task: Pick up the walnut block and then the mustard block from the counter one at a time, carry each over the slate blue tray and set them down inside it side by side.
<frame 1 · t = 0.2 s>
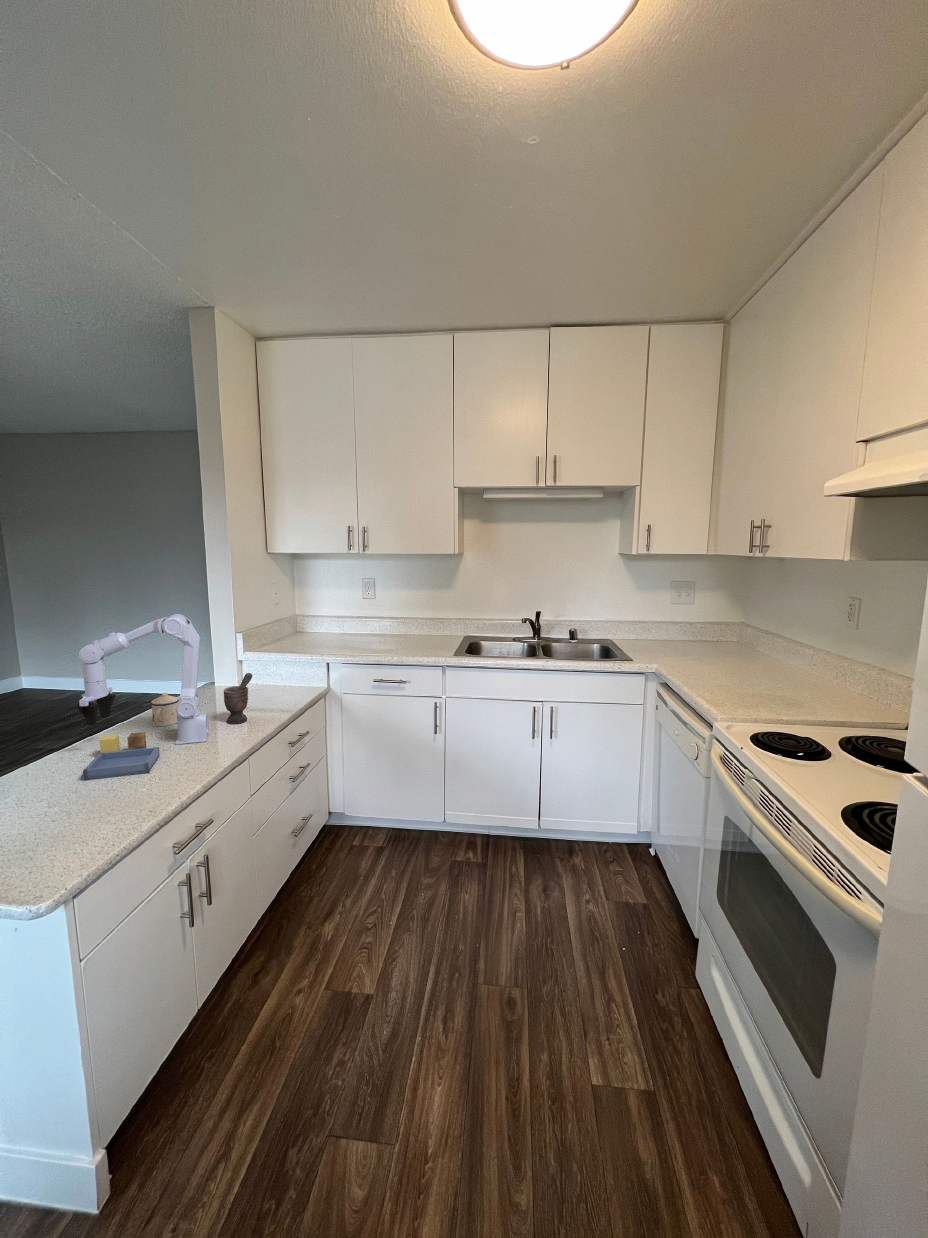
hand: (98, 720, 158), 10 cm above the worktop, fingers open, 7 cm apart
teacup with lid: (165, 724, 184), on the worktop
walnut block: (137, 752, 158), on the worktop
mortar and pestle: (241, 722, 188), on the worktop
mustard block: (110, 755, 156), on the worktop
slate blue tray: (124, 767, 147), on the worktop
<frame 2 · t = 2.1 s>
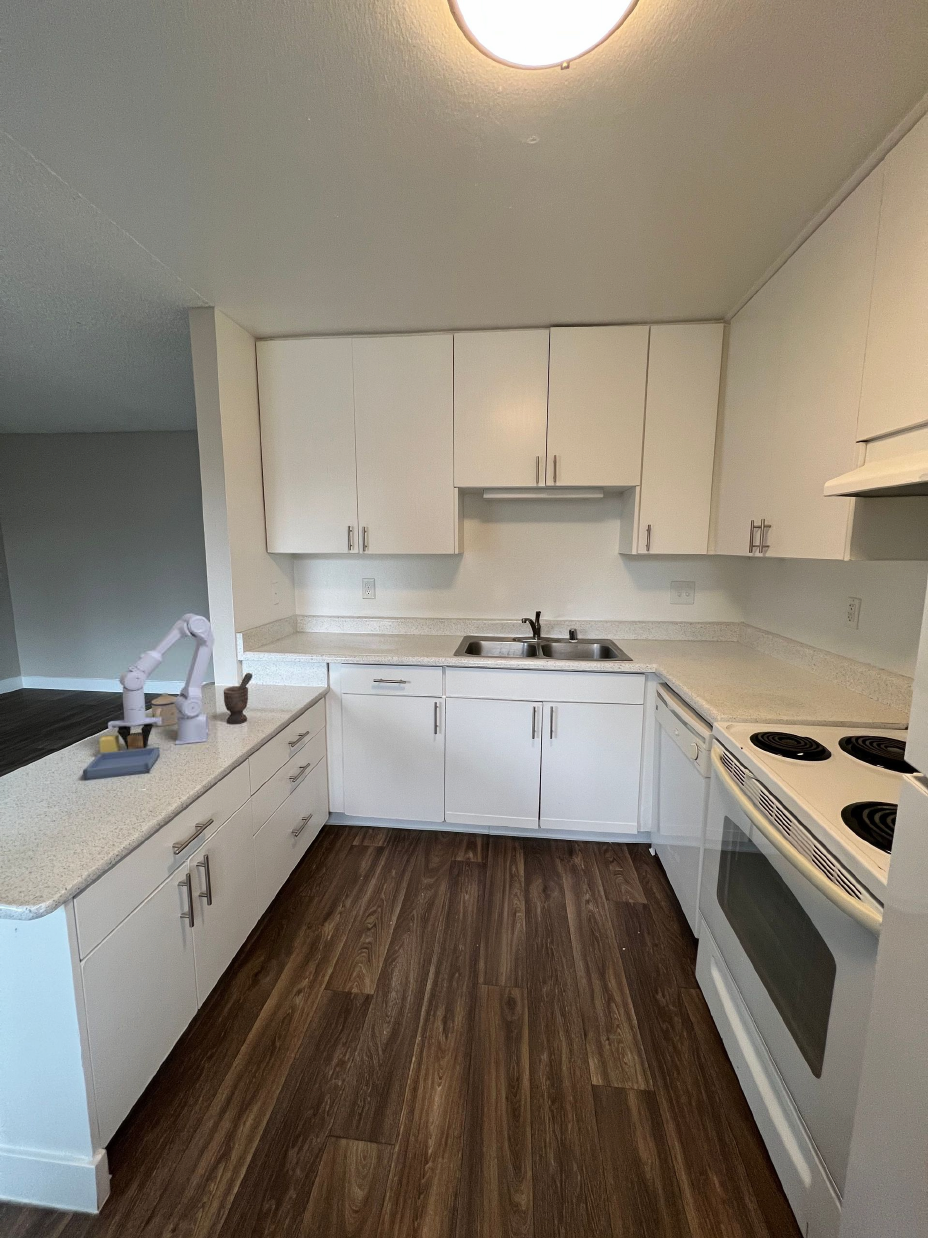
hand: (137, 747, 158), 2 cm above the worktop, fingers closed on walnut block, 4 cm apart
walnut block: (137, 752, 158), on the worktop, touching gripper
everything else where it was.
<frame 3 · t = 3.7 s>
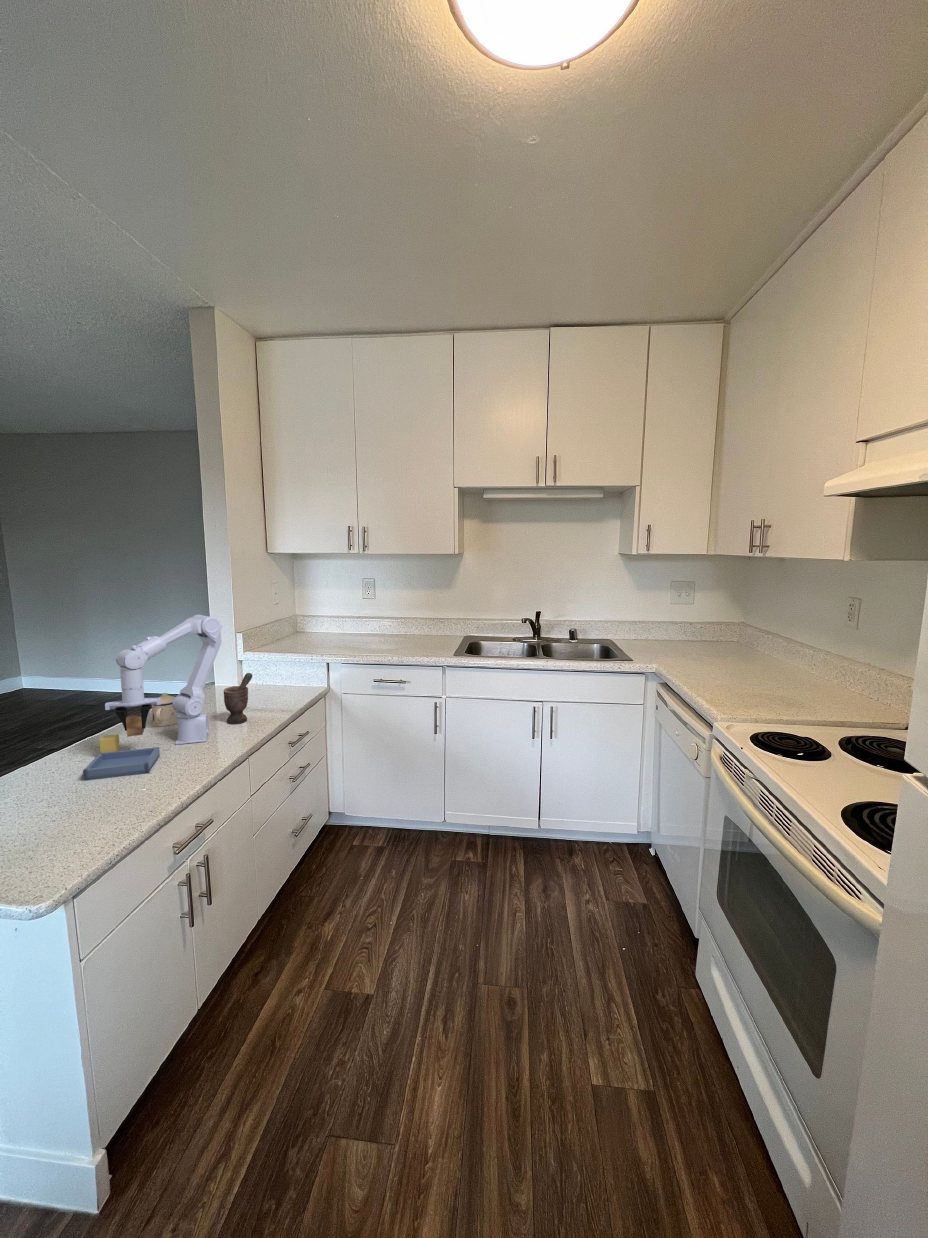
hand: (135, 728, 154), 9 cm above the worktop, fingers closed on walnut block, 4 cm apart
walnut block: (135, 733, 155), point 7 cm above the worktop, touching gripper
everything else where it was.
when the fingers open (5 cm above the worktop, at t = 5.4 s): walnut block drops 2 cm, resting on slate blue tray.
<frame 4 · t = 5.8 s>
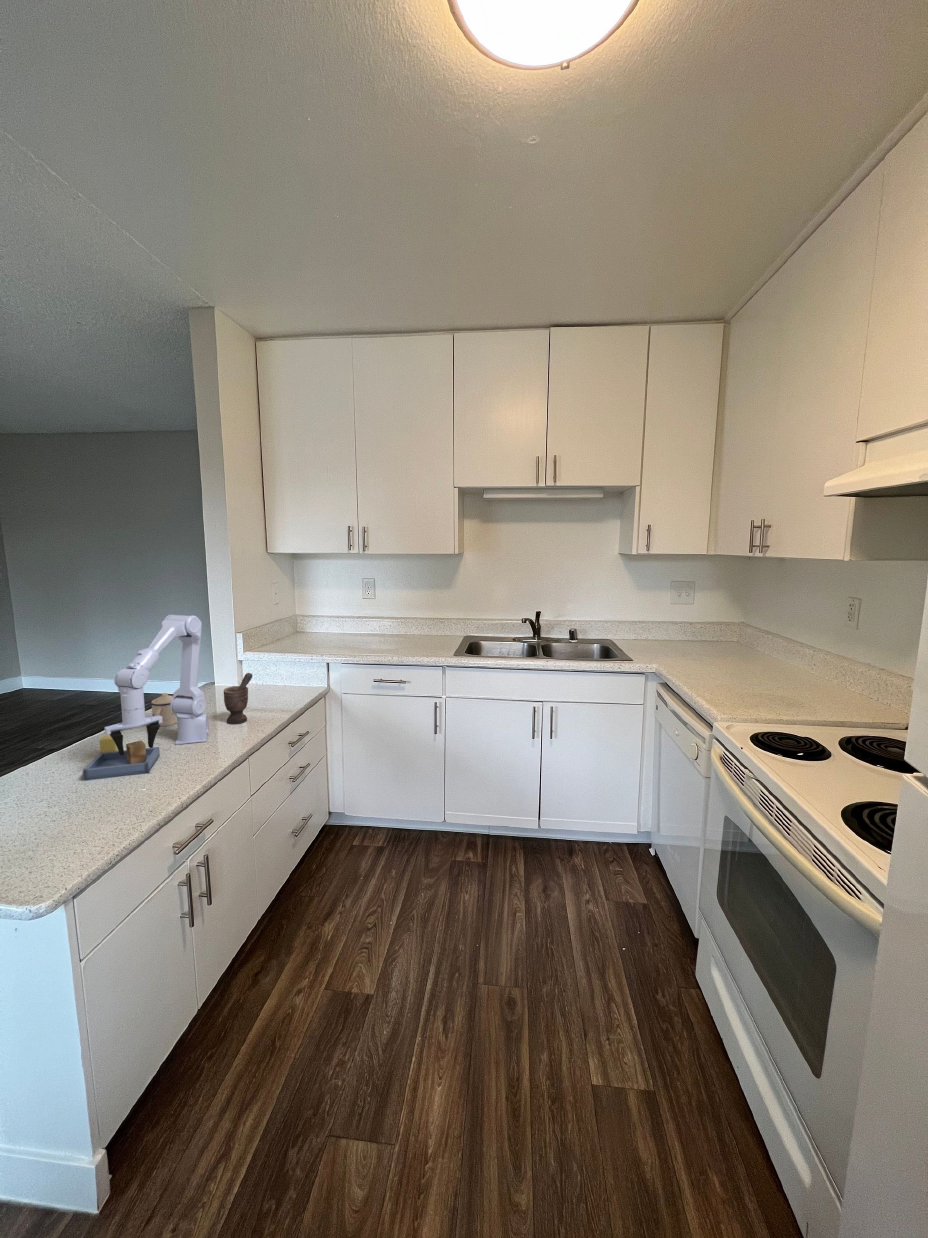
hand: (136, 750, 147), 5 cm above the worktop, fingers open, 7 cm apart
walnut block: (137, 762, 148), point 1 cm above the worktop, touching slate blue tray
everything else where it was.
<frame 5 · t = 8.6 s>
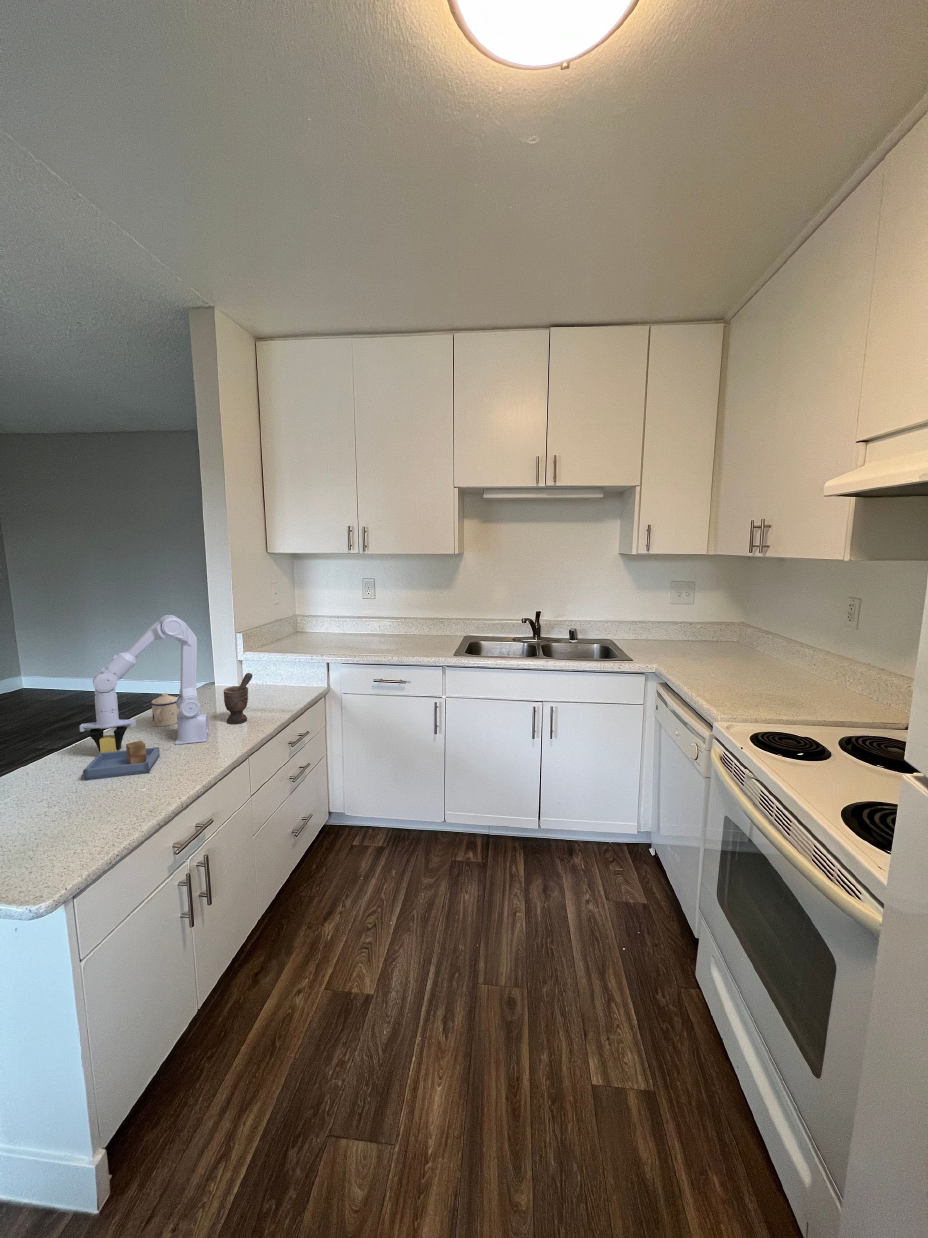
hand: (110, 750, 155), 2 cm above the worktop, fingers closed on mustard block, 4 cm apart
mustard block: (110, 754, 156), on the worktop, touching gripper
everything else where it was.
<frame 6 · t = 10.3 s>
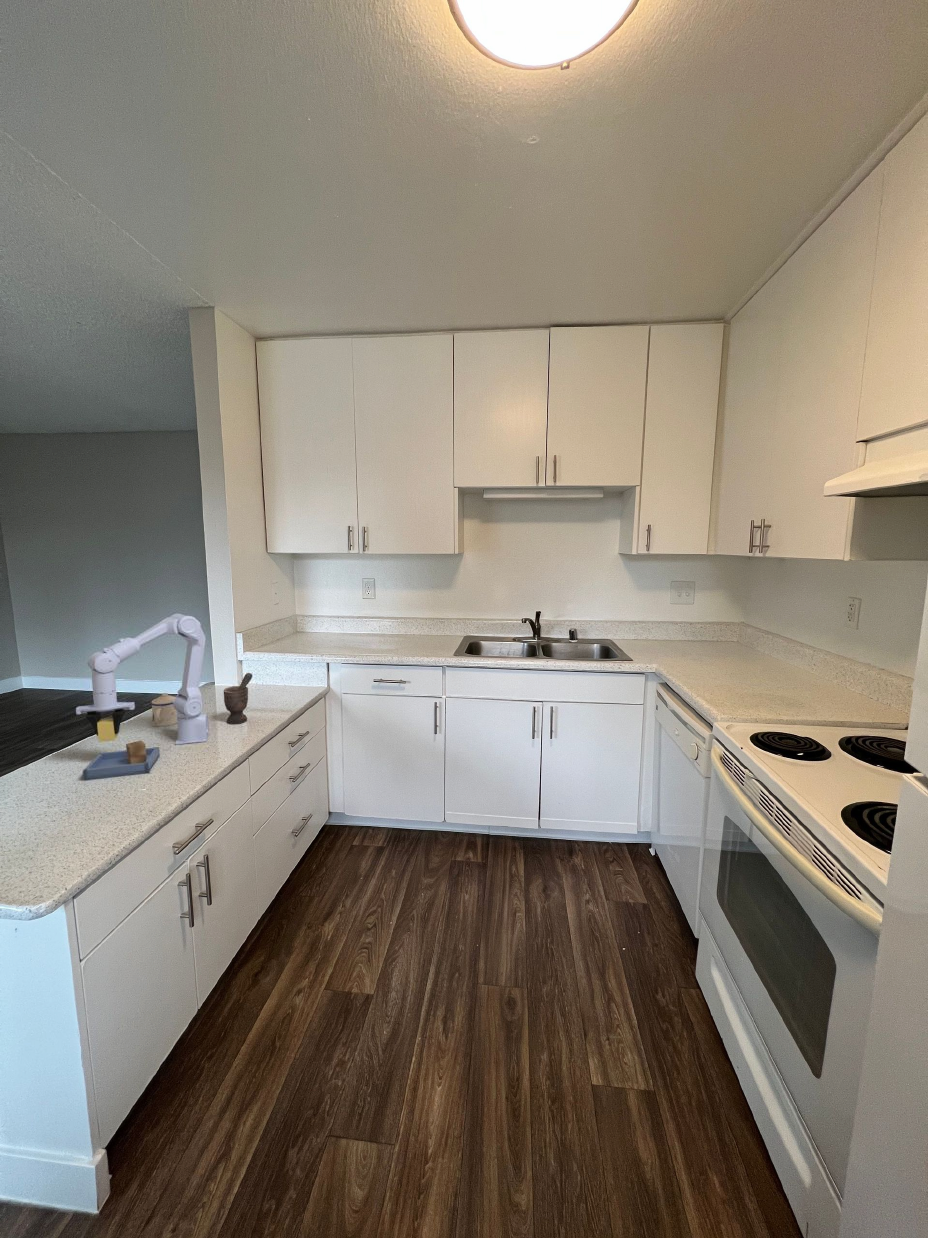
hand: (108, 733, 150), 9 cm above the worktop, fingers closed on mustard block, 4 cm apart
mustard block: (108, 738, 150), point 7 cm above the worktop, touching gripper
everything else where it was.
when the fingers open (5 cm above the worktop, at t = 11.9 s): mustard block drops 2 cm, resting on slate blue tray.
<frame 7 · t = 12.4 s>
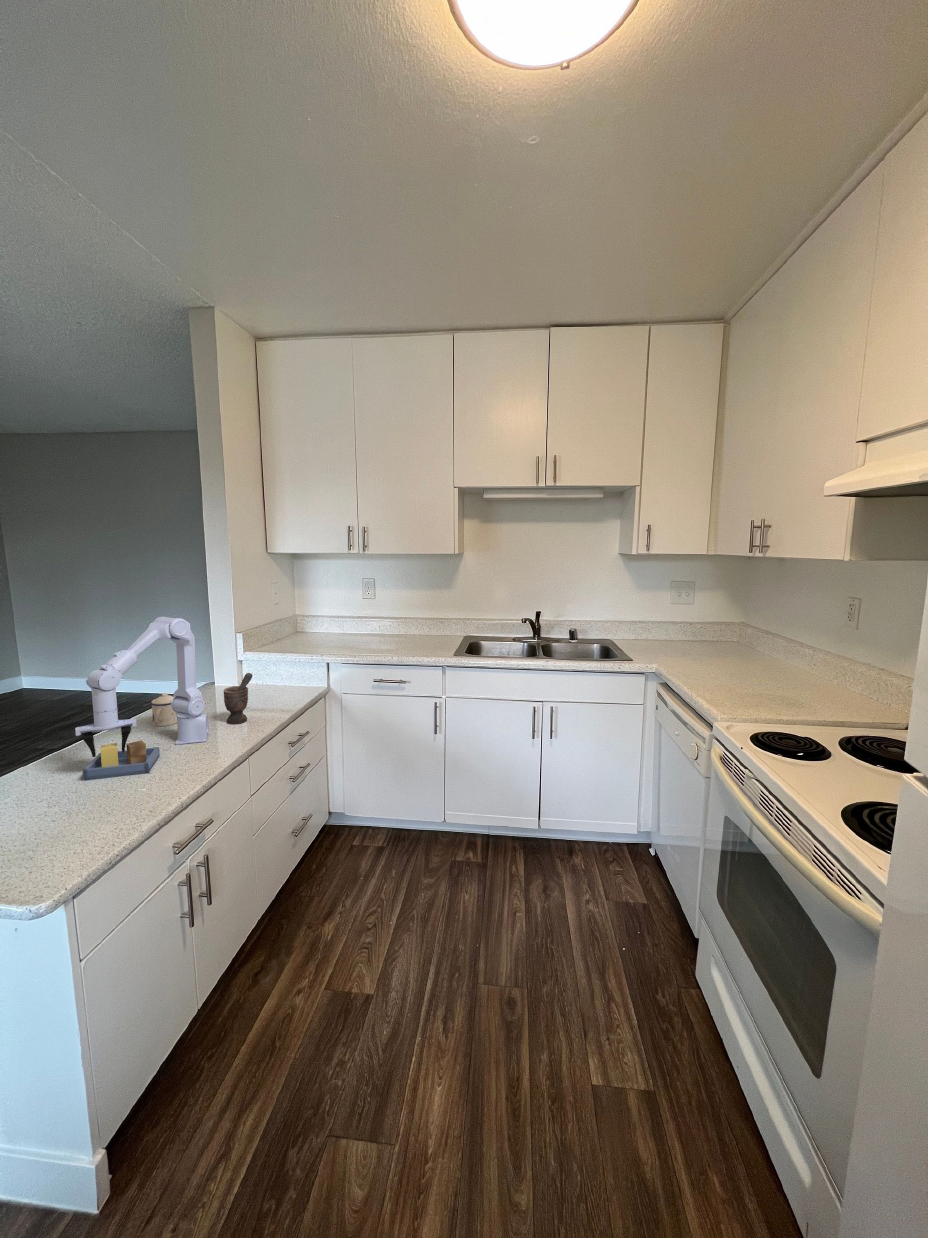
hand: (108, 753, 145), 5 cm above the worktop, fingers open, 6 cm apart
walnut block: (137, 762, 148), point 1 cm above the worktop, touching gripper, slate blue tray
mustard block: (110, 765, 146), point 1 cm above the worktop, touching slate blue tray
everything else where it was.
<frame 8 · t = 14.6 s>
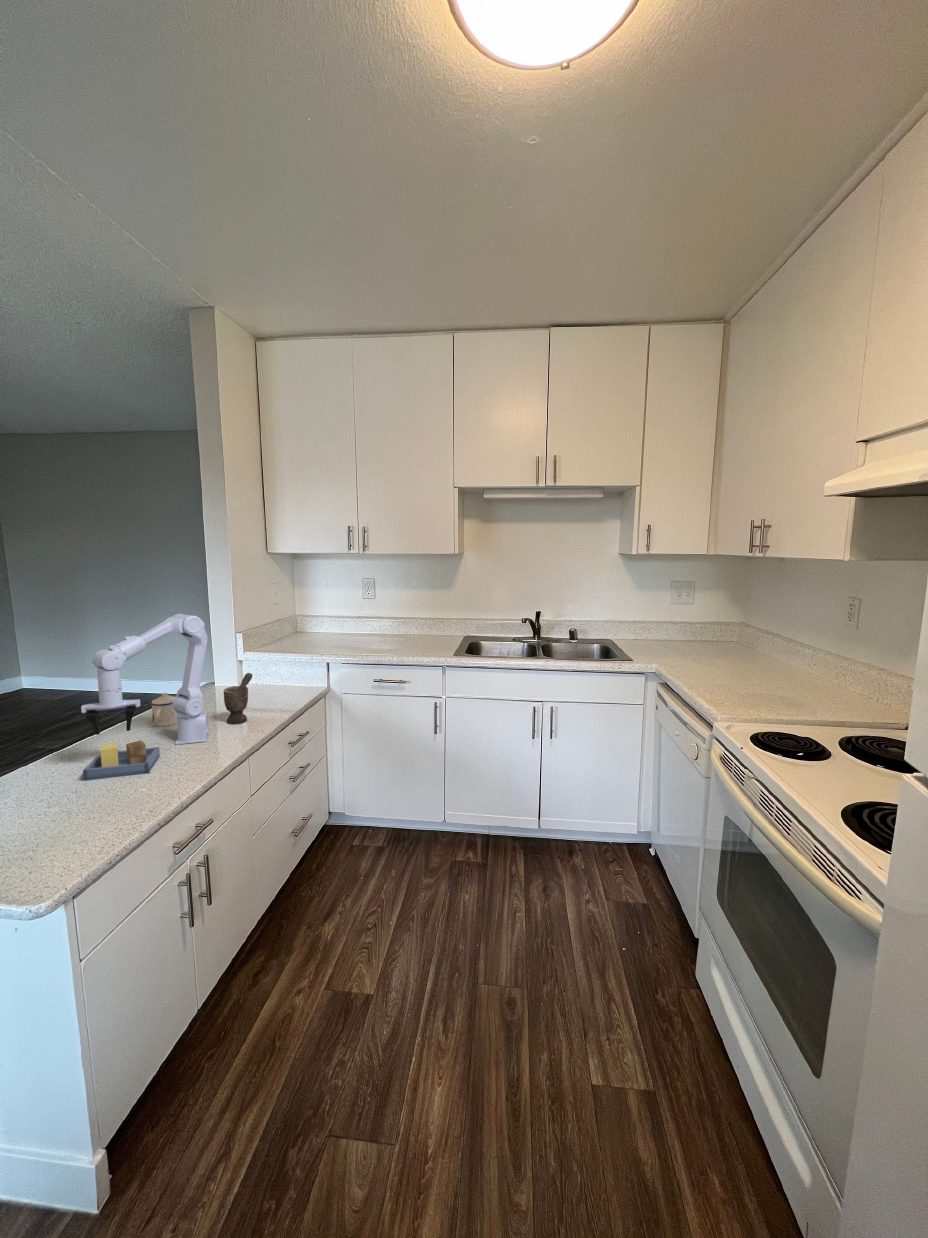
hand: (113, 731, 149), 10 cm above the worktop, fingers open, 7 cm apart
walnut block: (137, 762, 148), point 1 cm above the worktop, touching slate blue tray
everything else where it was.
at the end: walnut block inside the target area on the slate blue tray (3.4 cm from its centre), point 1.0 cm above the slate blue tray's base; mustard block inside the target area on the slate blue tray (3.5 cm from its centre), point 1.0 cm above the slate blue tray's base; mustard block tilted 0° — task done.
